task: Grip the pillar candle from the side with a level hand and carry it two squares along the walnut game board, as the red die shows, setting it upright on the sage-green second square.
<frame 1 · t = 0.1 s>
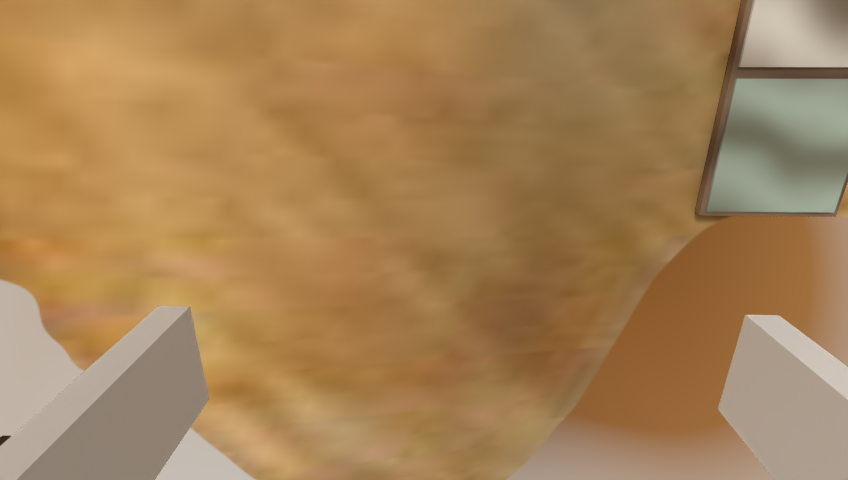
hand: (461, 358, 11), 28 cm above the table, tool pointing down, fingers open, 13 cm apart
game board: (800, 72, 35), on the table
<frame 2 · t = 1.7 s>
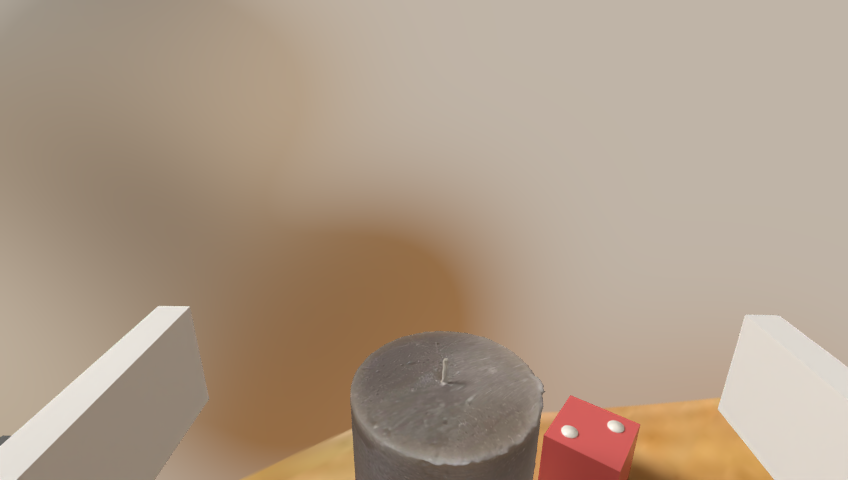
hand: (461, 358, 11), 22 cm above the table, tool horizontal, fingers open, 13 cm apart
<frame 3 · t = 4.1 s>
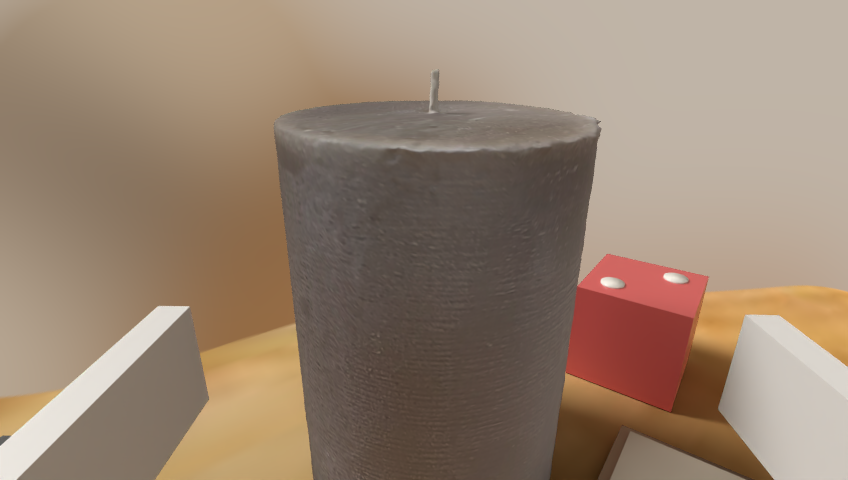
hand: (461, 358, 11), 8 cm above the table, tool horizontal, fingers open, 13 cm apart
red die: (628, 365, 25), on the table
pillar candle: (432, 458, 19), on the table
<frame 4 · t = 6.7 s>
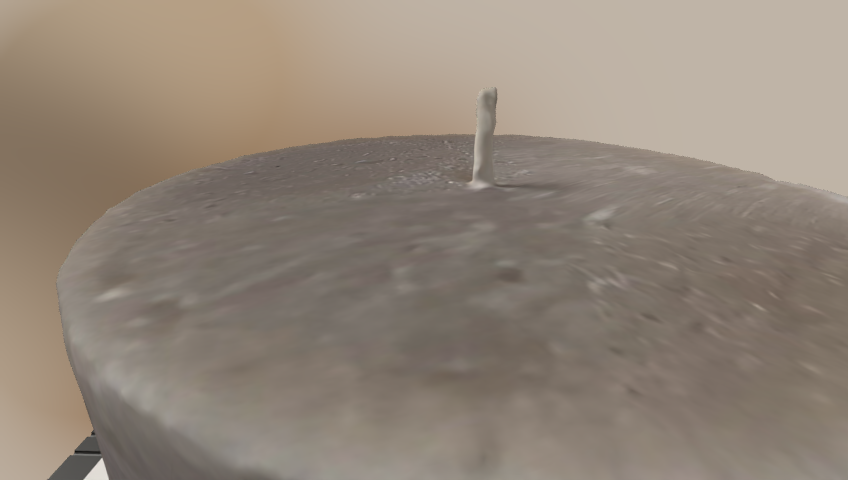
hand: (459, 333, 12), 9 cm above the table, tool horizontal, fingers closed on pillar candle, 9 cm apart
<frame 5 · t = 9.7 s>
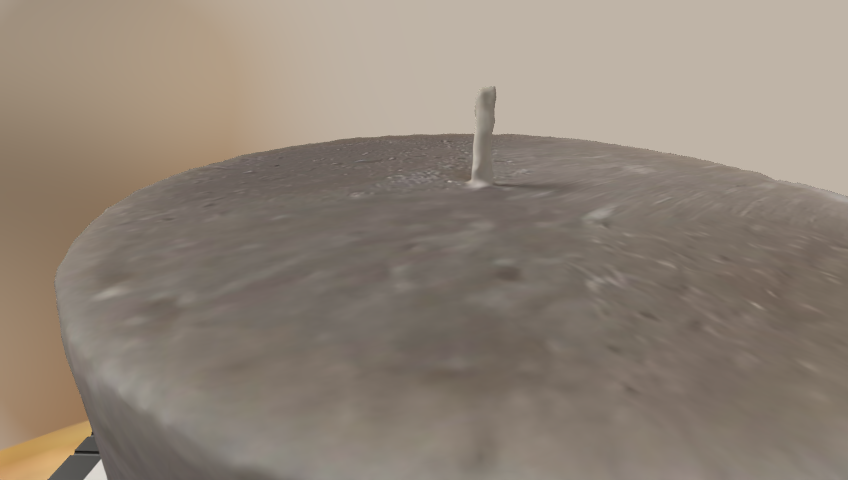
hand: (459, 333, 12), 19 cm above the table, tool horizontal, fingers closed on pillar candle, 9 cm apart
when the fingers open (11 cm above the table, at t = 12.7 s): pillar candle drops 1 cm, resting on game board.
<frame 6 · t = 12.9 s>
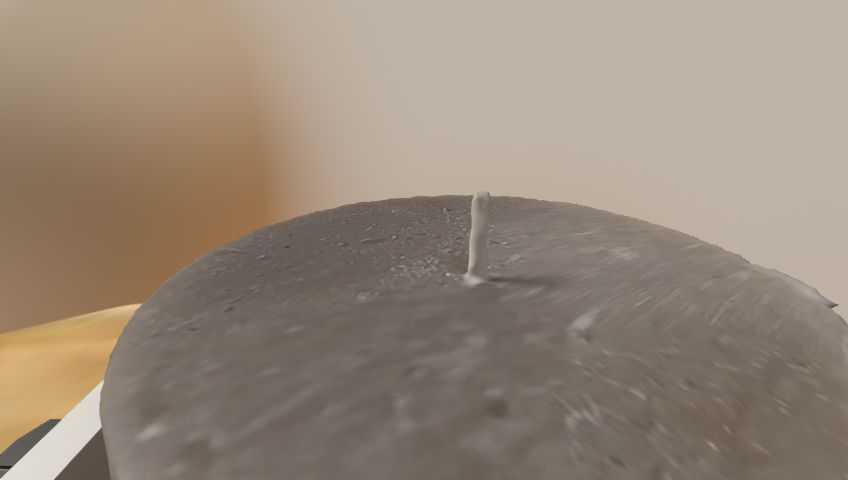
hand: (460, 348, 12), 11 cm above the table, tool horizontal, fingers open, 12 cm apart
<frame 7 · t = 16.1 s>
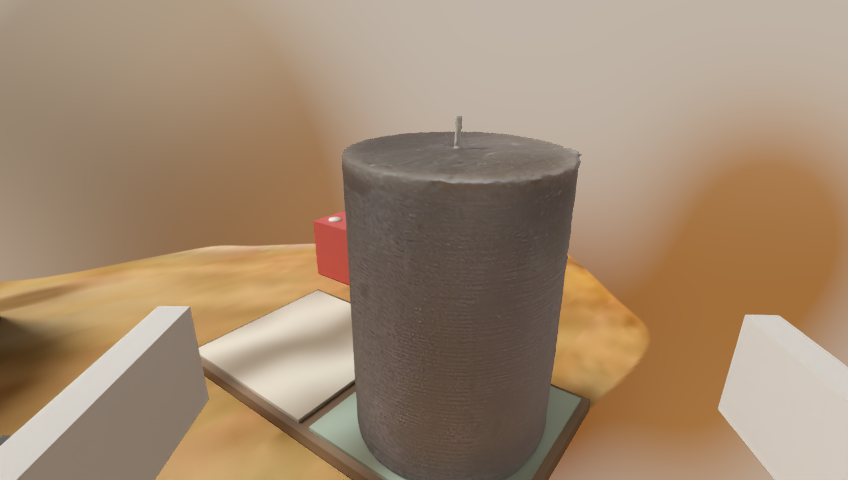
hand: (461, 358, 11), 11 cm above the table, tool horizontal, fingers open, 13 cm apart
red die: (357, 270, 42), on the table
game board: (372, 384, 28), on the table
pillar candle: (451, 416, 24), point 1 cm above the table, touching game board
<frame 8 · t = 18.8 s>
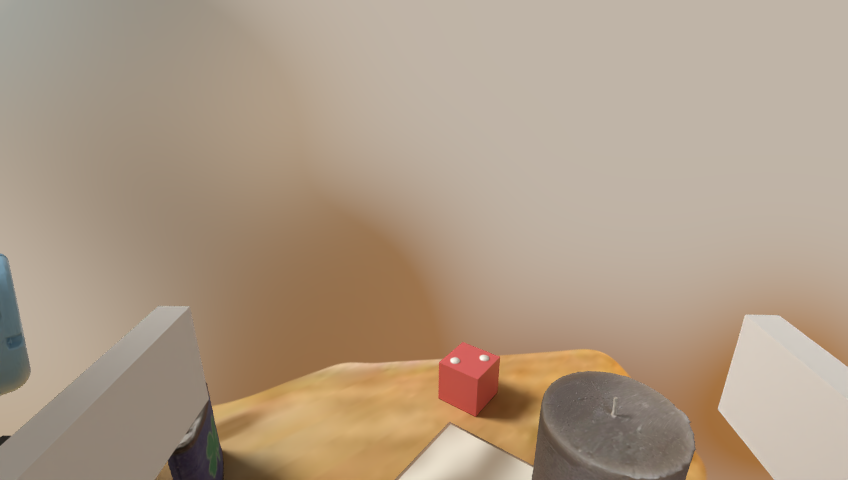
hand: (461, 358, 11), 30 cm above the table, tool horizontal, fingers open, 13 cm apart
red die: (468, 395, 54), on the table
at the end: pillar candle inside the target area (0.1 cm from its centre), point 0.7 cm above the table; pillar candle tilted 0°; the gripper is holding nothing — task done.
